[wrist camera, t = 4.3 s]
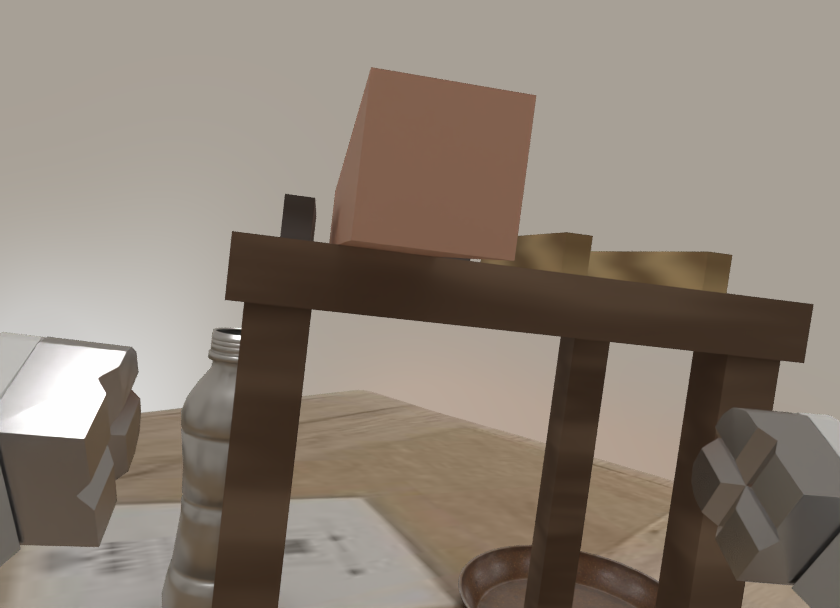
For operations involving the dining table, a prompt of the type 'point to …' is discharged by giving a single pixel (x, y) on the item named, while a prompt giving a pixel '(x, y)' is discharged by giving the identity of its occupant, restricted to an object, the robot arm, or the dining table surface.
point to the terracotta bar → (434, 168)
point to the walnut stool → (512, 311)
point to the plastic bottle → (203, 476)
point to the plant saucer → (594, 589)
